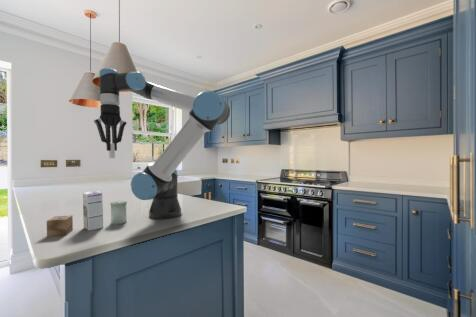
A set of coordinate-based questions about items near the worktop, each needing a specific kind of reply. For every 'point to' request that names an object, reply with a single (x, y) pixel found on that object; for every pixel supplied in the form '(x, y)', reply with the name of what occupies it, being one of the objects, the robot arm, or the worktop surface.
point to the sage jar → (118, 212)
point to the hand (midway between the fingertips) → (112, 158)
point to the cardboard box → (59, 226)
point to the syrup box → (93, 210)
